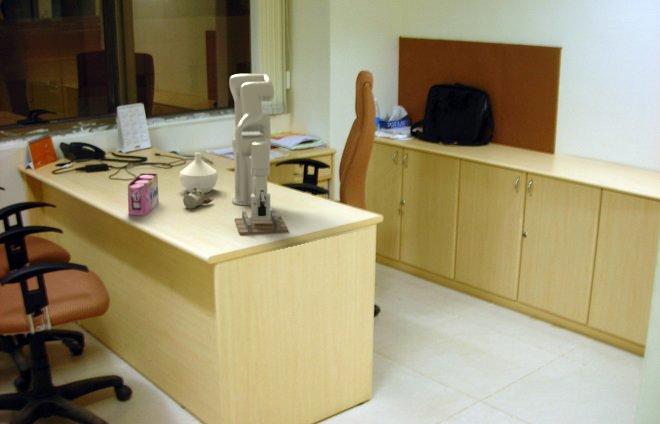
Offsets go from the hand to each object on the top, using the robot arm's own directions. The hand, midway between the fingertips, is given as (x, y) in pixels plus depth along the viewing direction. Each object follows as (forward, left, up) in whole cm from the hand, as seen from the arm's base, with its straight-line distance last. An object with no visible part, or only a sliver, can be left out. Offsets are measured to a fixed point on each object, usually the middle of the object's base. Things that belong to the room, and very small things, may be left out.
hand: (260, 213), depth 324 cm
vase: (-62, -22, -6) cm, 66 cm away
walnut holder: (0, 0, -6) cm, 6 cm away
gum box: (-36, -48, -6) cm, 60 cm away
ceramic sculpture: (-37, -25, -6) cm, 45 cm away
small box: (0, 0, -3) cm, 3 cm away
